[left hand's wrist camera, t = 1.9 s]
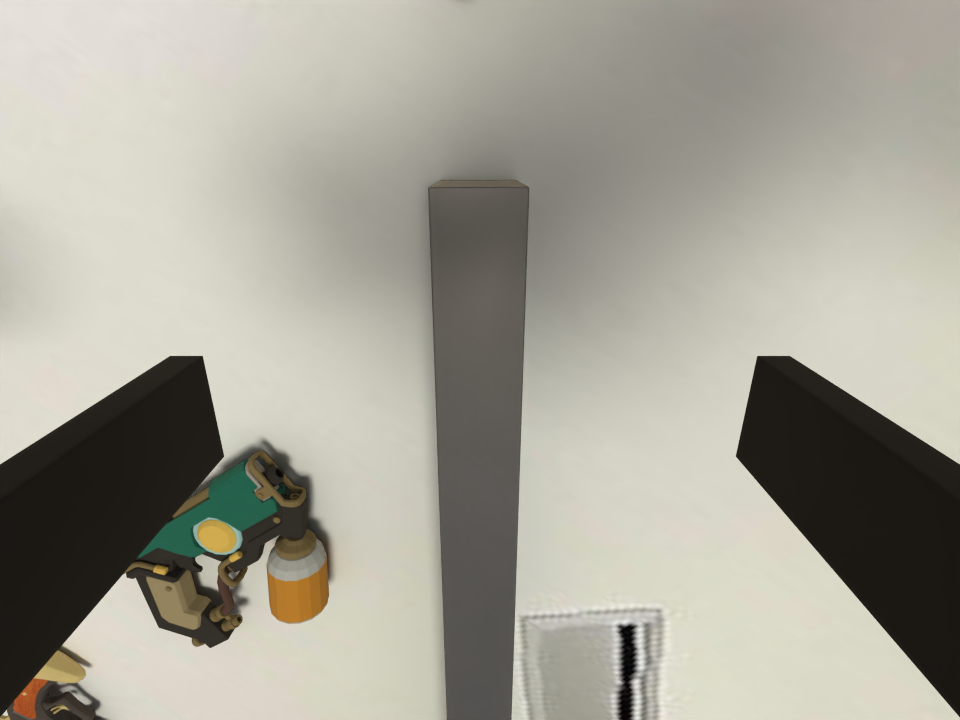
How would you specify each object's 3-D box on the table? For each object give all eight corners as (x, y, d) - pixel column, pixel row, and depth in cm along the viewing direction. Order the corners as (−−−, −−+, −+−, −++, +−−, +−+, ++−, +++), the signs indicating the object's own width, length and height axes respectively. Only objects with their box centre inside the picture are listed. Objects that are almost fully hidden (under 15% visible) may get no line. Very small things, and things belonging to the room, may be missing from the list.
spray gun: (191, 626, 44) (98, 482, 39) (370, 592, 41) (293, 432, 36) (158, 672, 40) (50, 517, 35) (354, 638, 37) (265, 465, 32)
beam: (440, 180, 30) (428, 186, 23) (517, 180, 30) (529, 187, 23) (458, 833, 54) (454, 937, 47) (500, 833, 54) (504, 937, 47)
